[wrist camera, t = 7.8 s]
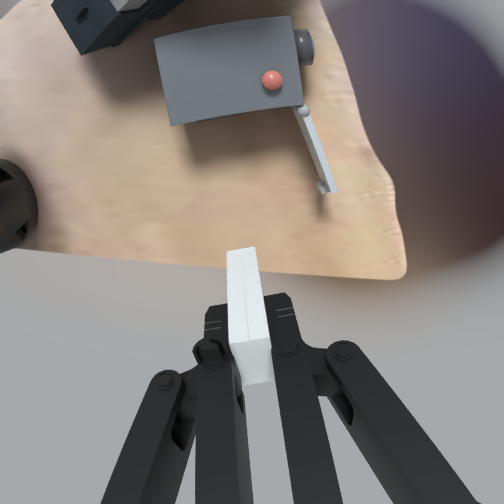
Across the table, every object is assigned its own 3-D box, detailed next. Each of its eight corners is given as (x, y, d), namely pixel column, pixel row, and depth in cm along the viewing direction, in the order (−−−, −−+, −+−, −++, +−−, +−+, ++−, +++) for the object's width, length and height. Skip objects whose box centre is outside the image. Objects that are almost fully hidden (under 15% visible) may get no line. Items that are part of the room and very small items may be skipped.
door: (282, 105, 37) (290, 109, 31) (296, 99, 36) (307, 103, 31) (314, 183, 42) (326, 200, 37) (327, 178, 42) (341, 194, 36)
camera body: (182, 120, 37) (170, 129, 31) (167, 45, 32) (151, 37, 25) (311, 100, 37) (327, 105, 30) (300, 24, 31) (314, 12, 25)
